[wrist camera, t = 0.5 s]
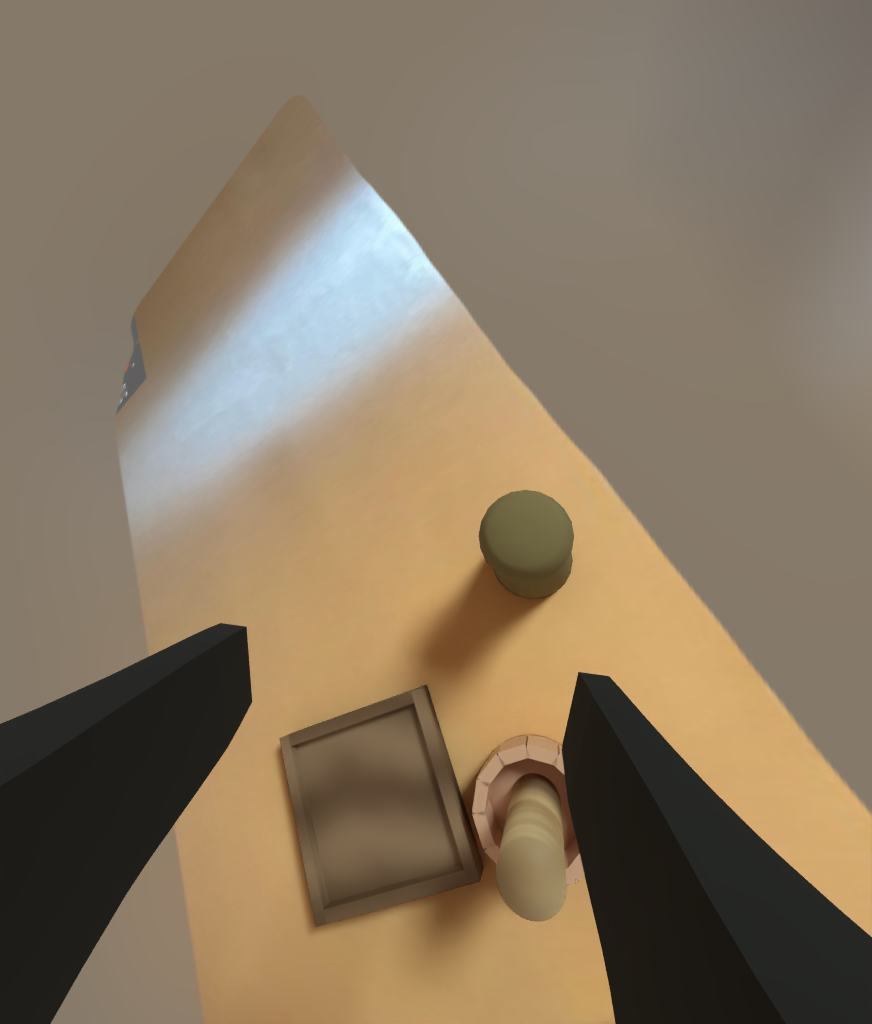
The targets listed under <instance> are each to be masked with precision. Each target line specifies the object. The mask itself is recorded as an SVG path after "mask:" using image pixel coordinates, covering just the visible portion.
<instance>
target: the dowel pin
mask: <svg viewBox="0 0 872 1024" xmlns="http://www.w3.org/2000/svg"><path fill="white" fill-rule="evenodd" d="M496 881H497V885H498V889H499V891H500V894H501V896H502V898H503V899H504V901H505V903H506V904H507V905H508V906H509V908H510V909H511V910H512V911H514V912H515V913H516V914H517V915H519V916H520V917H522V918H525V919H527V920H530V921H545V920H548V919H550V918H552V917H553V916H555V915H556V914H557V913H558V912H559V911H560V909H561V908H562V906H563V904H564V901H565V898H566V892H567V883H566V869H565V854H564V840H563V826H562V812H561V800H560V795H559V793H558V790H557V788H556V787H555V785H554V784H553V783H552V782H551V781H550V780H549V779H548V778H546V777H545V776H543V775H541V774H537V773H528V774H525V775H523V776H521V777H520V778H519V779H518V780H517V781H516V782H515V784H514V786H513V789H512V793H511V798H510V803H509V807H508V812H507V817H506V821H505V826H504V831H503V835H502V840H501V845H500V850H499V854H498V859H497V864H496Z"/></svg>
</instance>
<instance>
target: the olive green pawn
mask: <svg viewBox="0 0 872 1024" xmlns="http://www.w3.org/2000/svg"><path fill="white" fill-rule="evenodd" d="M573 539H574V533H573V528H572V522H571V520H570V518H569V516H568V515H567V513H566V511H565V509H564V508H563V507H562V506H561V505H560V504H558V503H557V502H556V501H555V500H554V499H553V498H551V497H549V496H547V495H545V494H542V493H540V492H536V491H528V490H522V491H516V492H511V493H509V494H507V495H505V496H503V497H501V498H499V499H498V500H497V501H495V502H494V503H493V504H492V505H491V506H490V507H489V508H488V510H487V512H486V514H485V515H484V517H483V519H482V521H481V526H480V531H479V541H480V549H481V551H482V553H483V555H484V557H485V559H486V561H487V563H488V564H489V565H490V566H491V567H492V568H493V569H494V571H495V573H496V575H497V578H498V580H499V581H500V582H501V584H502V585H503V586H504V587H505V588H506V589H507V590H508V591H510V592H512V593H514V594H516V595H517V596H520V597H525V598H529V599H534V598H544V597H546V596H548V595H551V594H553V593H555V592H556V591H557V590H558V589H560V588H561V587H562V586H563V585H564V584H565V582H566V580H567V578H568V577H569V575H570V573H571V567H572V561H573V560H572V554H571V551H572V546H573Z"/></svg>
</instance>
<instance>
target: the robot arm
mask: <svg viewBox="0 0 872 1024" xmlns="http://www.w3.org/2000/svg"><path fill="white" fill-rule="evenodd" d="M251 703H252V694H251V681H250V667H249V654H248V641H247V628H246V627H244V626H237V625H229V624H222V623H220V624H217V625H215V626H213V627H210V628H208V629H206V630H203V631H201V632H199V633H197V634H195V635H193V636H190V637H188V638H186V639H184V640H182V641H180V642H178V643H176V644H174V645H172V646H170V647H168V648H166V649H164V650H162V651H160V652H158V653H156V654H153V655H151V656H149V657H147V658H145V659H143V660H141V661H139V662H137V663H135V664H133V665H131V666H129V667H127V668H125V669H123V670H121V671H119V672H116V673H114V674H112V675H110V676H108V677H106V678H104V679H102V680H99V681H97V682H95V683H93V684H91V685H89V686H86V687H84V688H82V689H79V690H77V691H75V692H73V693H71V694H68V695H66V696H64V697H62V698H60V699H57V700H55V701H53V702H51V703H49V704H46V705H44V706H42V707H40V708H37V709H35V710H33V711H30V712H28V713H26V714H23V715H21V716H19V717H16V718H14V719H11V720H9V721H6V722H4V723H1V724H0V1024H50V1023H51V1022H52V1020H53V1018H54V1016H55V1015H56V1013H57V1011H58V1009H59V1008H60V1006H61V1004H62V1002H63V1001H64V999H65V997H66V995H67V994H68V992H69V990H70V988H71V987H72V985H73V983H74V981H75V980H76V978H77V976H78V974H79V973H80V971H81V969H82V967H83V966H84V964H85V962H86V961H87V959H88V957H89V956H90V954H91V952H92V950H93V949H94V947H95V946H96V944H97V942H98V941H99V939H100V937H101V936H102V934H103V932H104V931H105V929H106V927H107V925H108V924H109V922H110V920H111V919H112V917H113V915H114V914H115V912H116V910H117V909H118V907H119V905H120V904H121V902H122V900H123V898H124V897H125V895H126V894H127V892H128V891H129V889H130V888H131V886H132V884H133V883H134V882H135V880H136V879H137V877H138V876H139V874H140V872H141V871H142V869H143V868H144V866H145V865H146V863H147V862H148V861H149V859H150V858H151V856H152V855H153V853H154V852H155V851H156V849H157V848H158V846H159V845H160V843H161V842H162V841H163V839H164V838H165V836H166V835H167V834H168V832H169V831H170V829H171V828H172V826H173V825H174V824H175V822H176V821H177V819H178V818H179V816H180V815H181V814H182V812H183V811H184V809H185V808H186V807H187V805H188V804H189V802H190V801H191V799H192V798H193V797H194V795H195V794H196V792H197V791H198V790H199V788H200V787H201V785H202V784H203V782H204V781H205V779H206V778H207V777H208V775H209V774H210V772H211V771H212V769H213V768H214V766H215V765H216V764H217V762H218V761H219V759H220V758H221V756H222V755H223V753H224V752H225V750H226V749H227V747H228V746H229V744H230V742H231V740H232V739H233V737H234V735H235V733H236V731H237V730H238V728H239V726H240V724H241V722H242V720H243V718H244V716H245V714H246V713H247V711H248V709H249V707H250V705H251ZM562 757H563V765H564V774H565V782H566V790H567V798H568V804H569V809H570V813H571V818H572V822H573V827H574V831H575V835H576V840H577V844H578V848H579V853H580V857H581V861H582V866H583V870H584V874H585V878H586V883H587V887H588V891H589V895H590V900H591V904H592V908H593V913H594V917H595V921H596V925H597V930H598V934H599V938H600V942H601V947H602V951H603V956H604V961H605V966H606V971H607V976H608V981H609V986H610V992H611V998H612V1004H613V1010H614V1017H615V1023H616V1024H872V937H871V936H870V935H868V934H867V933H866V932H865V931H864V930H863V929H861V928H860V927H859V926H858V925H857V924H856V923H854V922H853V921H852V920H851V919H850V918H849V917H847V916H846V915H845V914H844V913H843V912H842V911H841V910H839V909H838V908H837V907H836V906H835V905H834V904H833V903H831V902H830V901H829V900H828V899H827V898H826V897H825V896H824V895H823V894H821V893H820V892H819V891H818V890H817V889H816V888H815V887H814V886H813V885H812V884H810V883H809V882H808V881H807V880H806V879H805V878H804V877H803V876H802V875H800V874H799V873H798V872H797V871H796V870H795V869H794V868H793V867H792V866H790V865H789V864H788V863H787V862H786V861H785V860H784V859H783V858H782V857H781V856H779V855H778V854H777V853H776V852H775V851H774V850H773V849H772V848H771V847H770V846H769V845H768V844H767V843H766V842H765V841H764V840H762V839H761V838H760V837H759V836H758V835H757V834H756V833H755V832H754V831H753V830H752V829H751V828H750V827H749V826H748V825H747V824H746V823H745V822H744V821H743V820H742V819H741V818H740V817H739V816H738V815H737V814H736V813H735V812H734V811H733V810H732V809H731V808H730V807H729V806H728V805H727V804H726V803H725V802H724V801H723V800H722V799H721V798H720V797H719V796H718V795H717V794H716V793H715V792H714V791H713V790H712V789H711V788H710V787H709V786H708V785H707V784H706V783H705V782H704V781H703V780H702V779H701V778H700V777H699V775H698V774H697V773H696V772H695V771H694V770H693V769H692V768H691V767H690V766H689V765H688V764H687V763H686V762H685V761H684V760H683V758H682V757H681V756H680V755H679V754H678V753H677V752H676V751H675V750H674V749H673V748H672V746H671V745H670V744H669V743H668V742H667V741H666V740H665V739H664V738H663V737H662V735H661V734H660V733H659V732H658V731H657V730H656V729H655V728H654V726H653V725H652V724H651V723H650V722H649V721H648V720H647V719H646V717H645V716H644V715H643V714H642V713H641V712H640V711H639V709H638V708H637V707H636V706H635V705H634V704H633V703H632V701H631V700H630V699H629V698H628V697H627V696H626V695H625V694H624V692H623V691H622V690H621V689H620V688H619V687H618V686H617V685H616V683H615V682H614V681H613V680H612V679H611V678H610V677H609V676H603V675H596V674H588V673H581V672H579V673H578V677H577V682H576V686H575V691H574V695H573V700H572V704H571V709H570V713H569V718H568V722H567V727H566V731H565V736H564V740H563V745H562Z"/></svg>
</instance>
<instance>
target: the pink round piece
mask: <svg viewBox="0 0 872 1024" xmlns="http://www.w3.org/2000/svg"><path fill="white" fill-rule="evenodd" d="M528 773H537V774H541V775H543V776H545V777H546V778H548V779H549V780H550V781H551V782H552V783H553V784H554V785H555V787H556V788H557V790H558V793H559V795H560V800H561V812H562V826H563V840H564V854H565V869H566V883H567V886H568V885H572V884H576V880H577V881H578V882H579V881H580V879H581V878H582V877H583V875H584V870H583V866H582V861H581V857H580V853H579V848H578V844H577V840H576V835H575V831H574V827H573V822H572V818H571V813H570V809H569V804H568V798H567V790H566V782H565V774H564V765H563V757H562V745H561V744H559V743H558V742H556V741H554V740H552V739H549V738H546V737H543V736H538V735H520V736H516V737H513V738H511V739H508V740H507V741H505V742H503V743H501V745H499V746H498V747H497V748H496V749H495V750H494V751H493V752H492V754H491V755H490V757H489V758H488V760H487V761H486V762H485V764H484V765H483V766H482V769H481V771H480V773H479V775H478V777H477V780H476V788H475V795H474V802H473V809H472V812H473V814H472V815H473V819H474V822H475V825H476V828H477V831H478V834H479V838H480V841H481V844H482V847H483V849H485V852H486V854H487V855H488V856H489V857H490V858H491V859H492V860H493V861H494V862H495V864H497V859H498V854H499V850H500V845H501V840H502V835H503V831H504V826H505V821H506V817H507V812H508V807H509V803H510V798H511V793H512V789H513V786H514V784H515V782H516V781H517V780H518V779H519V778H520V777H521V776H523V775H525V774H528Z"/></svg>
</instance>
